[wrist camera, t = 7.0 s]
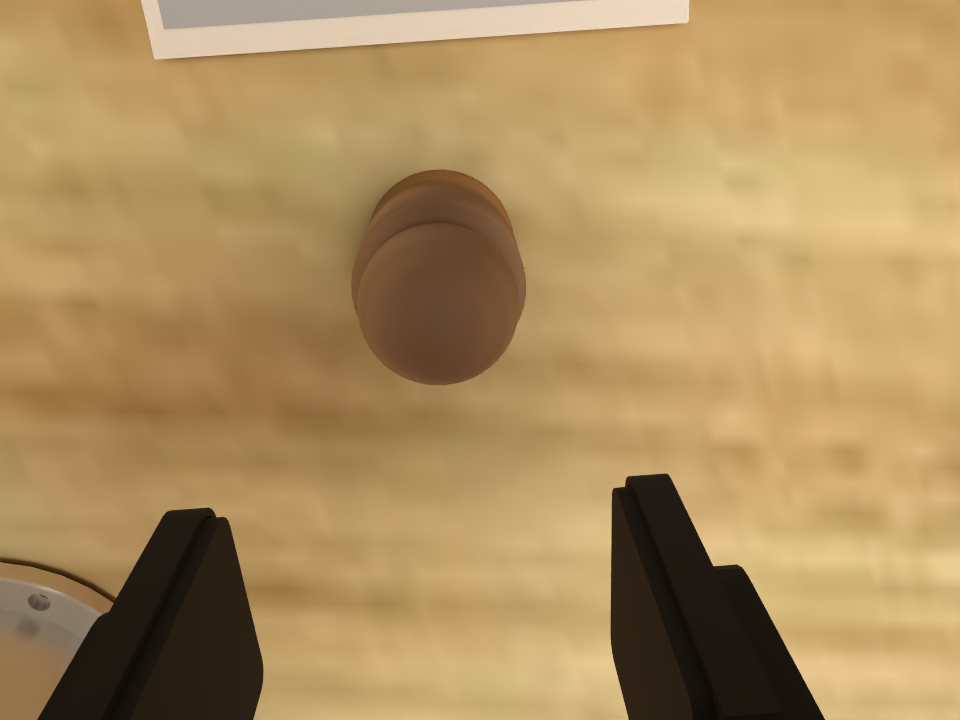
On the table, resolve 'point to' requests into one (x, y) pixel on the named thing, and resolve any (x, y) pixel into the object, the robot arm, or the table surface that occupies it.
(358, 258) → the walnut pawn
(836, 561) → the table surface
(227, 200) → the table surface
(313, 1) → the game board
